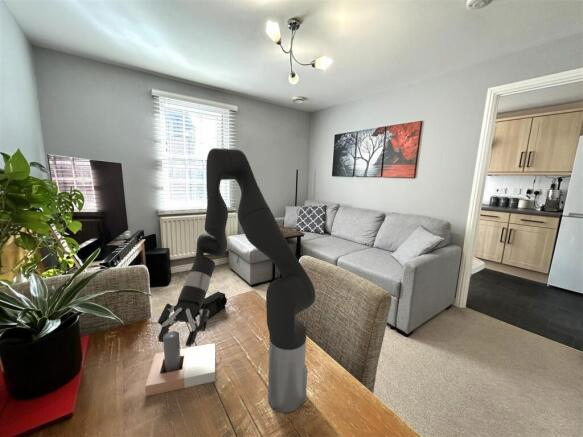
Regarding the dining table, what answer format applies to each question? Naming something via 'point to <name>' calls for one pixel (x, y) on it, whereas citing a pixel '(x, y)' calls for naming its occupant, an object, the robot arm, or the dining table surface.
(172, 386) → the block
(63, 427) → the dining table surface
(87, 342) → the dining table surface
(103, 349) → the dining table surface
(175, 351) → the pin
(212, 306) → the digital camera
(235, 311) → the dining table surface
